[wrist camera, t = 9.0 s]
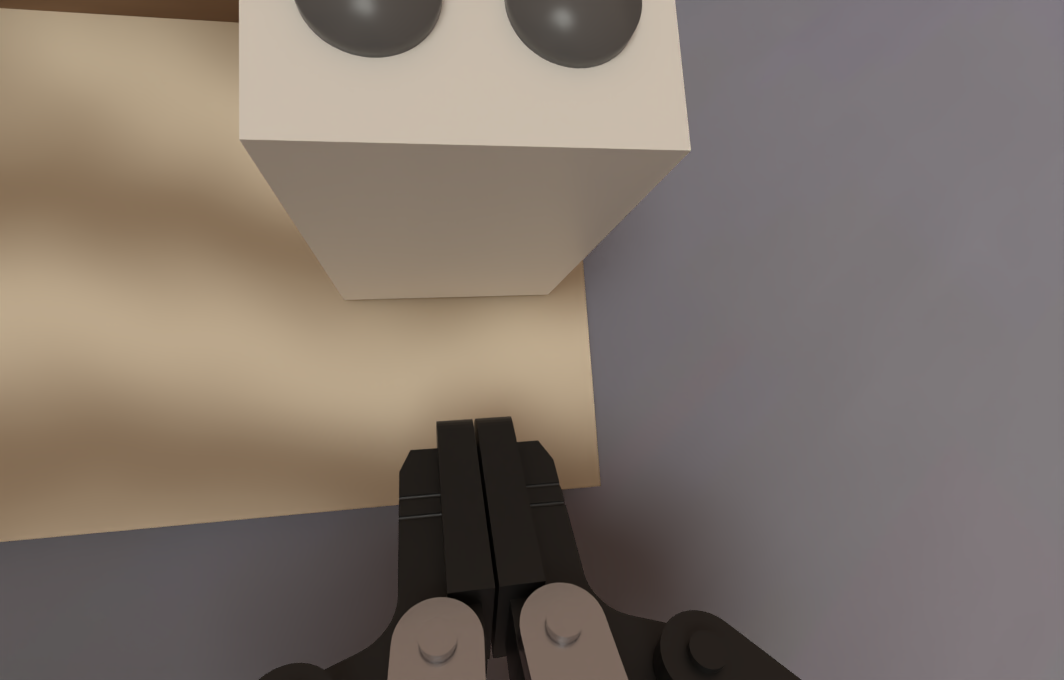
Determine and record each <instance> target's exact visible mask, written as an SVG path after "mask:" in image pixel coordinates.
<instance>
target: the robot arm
mask: <svg viewBox="0 0 1064 680" xmlns="http://www.w3.org/2000/svg"><path fill="white" fill-rule="evenodd" d="M436 438H437V448H432V449H418V450H410V452H409V454H408V456H407V458H406V460H405V462H404V464H403V465H402V467H401V469H400V471H399V551H398V603H397V607H396V611H395V614H394V616H393V619H392V621H391V623H390V624H389V626H388V628H387V629H386V630H385V632H384V633H383V634H382V635H381V636H380V637H379V638H378V639H377V640H376V641H375V642H374V643H373V644H372V645H370V646H369V647H368V648H366V649H365V650H363V651H361V652H359V653H358V654H356V655H354V656H352V657H349V658H347V659H345V660H343V661H341V662H339V663H337V664H335V665H333V666H331V667H329V668H327V669H325V670H323V669H321V668H320V667H318V666H315V665H312V664H308V663H293V664H288V665H284V666H281V667H279V668H276V669H274V670H272V671H270V672H269V673H267V674H265V675H264V676H263V677H261V678H260V679H259V680H486V672H487V659H489V657H490V645H491V644H492V653H493V658H497V657H503V656H507V662H508V670H509V677H510V680H801V679H800V678H798V677H797V676H796V675H794V674H793V673H792V672H790V671H789V670H788V669H786V668H785V667H784V666H783V665H781V664H780V663H779V662H777V661H776V660H775V659H773V658H772V657H771V656H769V655H768V654H767V653H765V652H764V651H763V650H762V649H760V648H759V647H758V646H756V645H755V644H754V643H752V642H751V641H750V640H748V639H747V638H746V637H744V636H743V635H742V634H741V633H739V632H738V631H737V630H735V629H734V628H733V627H731V626H730V625H729V624H727V623H726V622H725V621H723V620H722V619H720V618H719V617H717V616H714V615H712V614H710V613H707V612H703V611H697V610H692V611H684V612H681V613H679V614H676V615H675V616H674V617H672V618H671V619H670V620H669V621H668V622H667V623H663V622H659V621H654V620H649V619H644V618H640V617H635V616H630V615H627V614H623V613H621V612H618V611H616V610H614V609H612V608H611V607H609V606H608V605H606V604H605V603H604V602H602V601H601V600H600V599H599V598H598V597H597V596H596V595H595V594H594V592H593V591H592V589H591V588H590V586H589V585H588V583H587V581H586V578H585V575H584V572H583V569H582V565H581V561H580V557H579V554H578V550H577V546H576V542H575V538H574V535H573V531H572V527H571V523H570V520H569V516H568V512H567V508H566V505H565V504H564V497H563V493H562V490H561V486H560V485H559V478H558V475H557V471H556V467H555V463H554V460H553V458H552V457H551V456H550V454H549V453H548V452H547V451H546V450H545V448H544V447H543V446H542V445H541V443H540V442H539V441H538V440H536V441H523V442H517V440H516V435H515V430H514V426H513V421H512V418H511V416H506V417H491V418H476V419H475V420H474V424H473V420H472V419H463V420H448V421H436Z"/></svg>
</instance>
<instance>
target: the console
mask: <svg viewBox="0 0 1064 680" xmlns="http://www.w3.org/2000/svg"><path fill="white" fill-rule="evenodd" d="M506 416H511V418H512V421H513V426H514V430H515V435H516V440H517V442H523V441H536V440H538V441H539V442H540V443H541V445H542V446H543V447H544V448H545V450H546V451H547V452H548V453H549V454H550V456H551V457H552V458H553V460H554V463H555V467H556V471H557V475H558V478H559V485H560V486H561V490H562V489H573V488H584V487H594V486H601V485H600V472H599V459H598V447H597V434H596V422H595V409H594V396H593V384H592V371H591V358H590V346H589V333H588V321H587V308H586V295H585V283H584V270H583V260H582V261H581V262H580V263H579V264H578V265H577V266H576V267H575V268H574V269H573V270H572V271H571V272H570V273H569V274H568V275H567V276H566V277H565V278H564V279H563V280H562V281H561V282H560V283H559V284H558V285H557V286H556V287H555V288H554V289H553V290H552V291H551V292H550V293H549V294H548V295H517V296H479V297H440V298H402V299H363V300H344V299H343V298H342V296H341V294H340V293H339V291H338V290H337V288H336V287H335V285H334V284H333V282H332V281H331V279H330V278H329V276H328V275H327V273H326V271H325V270H324V268H323V267H322V265H321V264H320V262H319V261H318V259H317V258H316V256H315V255H314V253H313V252H312V250H311V249H310V247H309V245H308V244H307V242H306V241H305V239H304V238H303V236H302V235H301V233H300V232H299V230H298V229H297V227H296V226H295V224H294V223H293V221H292V219H291V218H290V216H289V215H288V213H287V212H286V210H285V209H284V207H283V206H282V204H281V203H280V201H279V200H278V198H277V197H276V195H275V193H274V192H273V190H272V189H271V187H270V186H269V184H268V183H267V181H266V180H265V178H264V177H263V175H262V174H261V172H260V171H259V169H258V167H257V166H256V164H255V163H254V161H253V160H252V158H251V157H250V155H249V154H248V152H247V151H246V149H245V148H244V146H243V145H242V143H241V141H240V140H239V0H0V542H5V541H16V540H26V539H37V538H48V537H58V536H69V535H80V534H91V533H101V532H112V531H123V530H133V529H144V528H155V527H166V526H176V525H187V524H198V523H208V522H219V521H230V520H241V519H251V518H262V517H273V516H283V515H294V514H305V513H316V512H326V511H337V510H348V509H359V508H369V507H380V506H391V505H399V471H400V469H401V467H402V465H403V464H404V462H405V460H406V458H407V456H408V454H409V452H410V450H418V449H432V448H437V438H436V421H448V420H463V419H472V420H473V424H474V420H475V419H476V418H491V417H506Z"/></svg>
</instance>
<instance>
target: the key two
mask: <svg viewBox="0 0 1064 680" xmlns="http://www.w3.org/2000/svg"><path fill="white" fill-rule="evenodd" d="M239 140H240V141H241V143H242V145H243V146H244V148H245V149H246V151H247V152H248V154H249V155H250V157H251V158H252V160H253V161H254V163H255V164H256V166H257V167H258V169H259V171H260V172H261V174H262V175H263V177H264V178H265V180H266V181H267V183H268V184H269V186H270V187H271V189H272V190H273V192H274V193H275V195H276V197H277V198H278V200H279V201H280V203H281V204H282V206H283V207H284V209H285V210H286V212H287V213H288V215H289V216H290V218H291V219H292V221H293V223H294V224H295V226H296V227H297V229H298V230H299V232H300V233H301V235H302V236H303V238H304V239H305V241H306V242H307V244H308V245H309V247H310V249H311V250H312V252H313V253H314V255H315V256H316V258H317V259H318V261H319V262H320V264H321V265H322V267H323V268H324V270H325V271H326V273H327V275H328V276H329V278H330V279H331V281H332V282H333V284H334V285H335V287H336V288H337V290H338V291H339V293H340V294H341V296H342V298H343V299H344V300H363V299H402V298H440V297H479V296H517V295H548V294H549V293H550V292H551V291H552V290H553V289H554V288H555V287H556V286H557V285H558V284H559V283H560V282H561V281H562V280H563V279H564V278H565V277H566V276H567V275H568V274H569V273H570V272H571V271H572V270H573V269H574V268H575V267H576V266H577V265H578V264H579V263H580V262H581V261H582V260H583V259H584V258H585V257H586V256H587V255H588V254H589V253H590V252H591V251H592V250H593V249H594V248H595V247H596V246H597V245H598V244H599V243H600V242H601V241H602V240H603V239H604V238H605V237H606V236H607V235H608V234H609V233H610V232H611V231H612V230H613V229H614V228H615V227H616V226H617V225H618V224H619V223H620V222H621V221H622V220H623V219H624V218H625V217H626V216H627V215H628V214H629V212H630V211H631V210H632V209H633V208H634V207H635V206H636V205H637V204H638V203H639V202H640V201H641V200H642V199H643V198H644V197H645V196H646V195H647V194H648V193H649V192H650V191H651V190H652V189H653V188H654V187H655V186H656V185H657V184H658V183H659V182H660V181H661V180H662V179H663V178H664V177H665V176H666V175H667V174H668V173H669V172H670V171H671V170H672V169H673V168H674V167H675V166H676V165H677V164H678V163H679V162H680V161H681V160H682V159H683V158H684V157H685V156H686V155H687V154H688V153H689V152H690V151H691V147H690V138H689V128H688V119H687V110H686V100H685V91H684V81H683V72H682V63H681V53H680V44H679V34H678V25H677V16H676V6H675V0H239Z"/></svg>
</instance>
